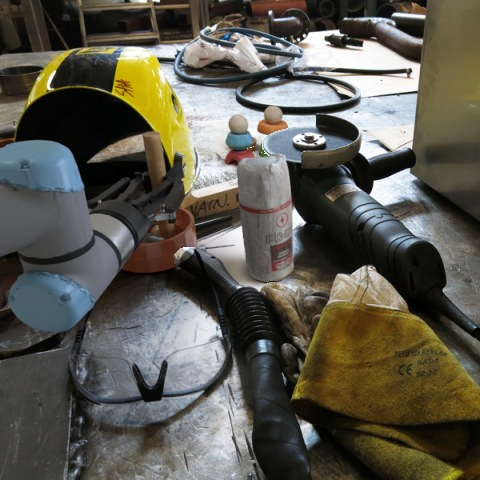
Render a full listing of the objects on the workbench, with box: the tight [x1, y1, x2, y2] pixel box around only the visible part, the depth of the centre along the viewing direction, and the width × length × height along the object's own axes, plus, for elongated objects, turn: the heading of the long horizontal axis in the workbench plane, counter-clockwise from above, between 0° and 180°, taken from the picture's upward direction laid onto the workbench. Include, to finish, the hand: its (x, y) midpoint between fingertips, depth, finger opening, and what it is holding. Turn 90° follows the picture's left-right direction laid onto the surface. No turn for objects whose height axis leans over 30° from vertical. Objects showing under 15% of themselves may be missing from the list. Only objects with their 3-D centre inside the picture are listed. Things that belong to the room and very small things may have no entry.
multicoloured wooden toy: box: [224, 105, 289, 165], centre depth 121 cm, size 18×17×12 cm
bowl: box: [121, 206, 198, 274], centre depth 82 cm, size 14×14×6 cm
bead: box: [151, 225, 167, 239], centre depth 85 cm, size 3×3×3 cm
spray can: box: [236, 152, 295, 283], centre depth 75 cm, size 8×8×20 cm
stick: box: [141, 131, 176, 238], centre depth 78 cm, size 3×3×18 cm
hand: (170, 168), depth 83 cm, fingers closed on stick, 3 cm apart
